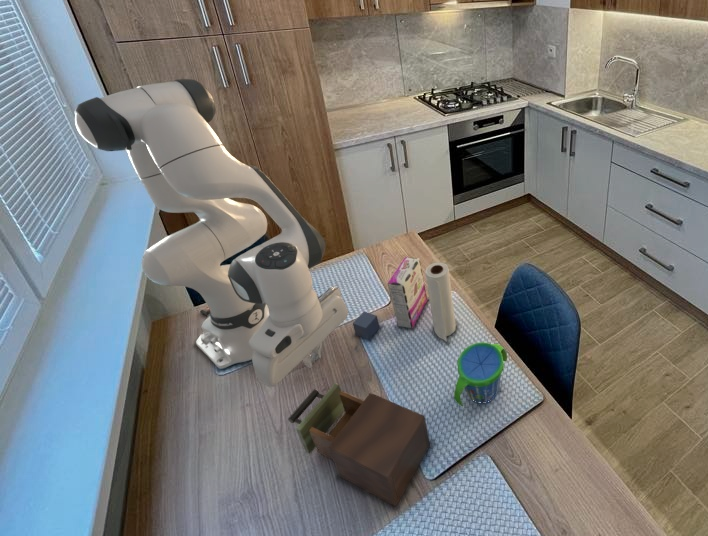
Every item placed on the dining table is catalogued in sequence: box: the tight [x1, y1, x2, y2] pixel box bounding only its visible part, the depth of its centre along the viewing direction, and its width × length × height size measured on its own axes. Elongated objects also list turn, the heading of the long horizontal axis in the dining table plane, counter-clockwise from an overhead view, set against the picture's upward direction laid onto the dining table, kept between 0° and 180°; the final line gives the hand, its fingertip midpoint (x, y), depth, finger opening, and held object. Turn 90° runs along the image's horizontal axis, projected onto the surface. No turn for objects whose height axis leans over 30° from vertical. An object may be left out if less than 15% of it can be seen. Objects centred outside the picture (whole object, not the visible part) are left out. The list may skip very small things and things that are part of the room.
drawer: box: [287, 382, 364, 461], centre depth 86 cm, size 18×11×8 cm, turn 68°
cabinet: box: [329, 392, 431, 508], centre depth 81 cm, size 14×12×10 cm
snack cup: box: [453, 342, 508, 407], centre depth 94 cm, size 16×10×10 cm
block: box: [352, 310, 380, 341], centre depth 112 cm, size 5×5×5 cm
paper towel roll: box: [424, 261, 457, 343], centre depth 108 cm, size 7×6×21 cm
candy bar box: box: [387, 256, 428, 329], centre depth 115 cm, size 11×5×16 cm, turn 168°
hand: (313, 361), depth 88 cm, fingers closed
